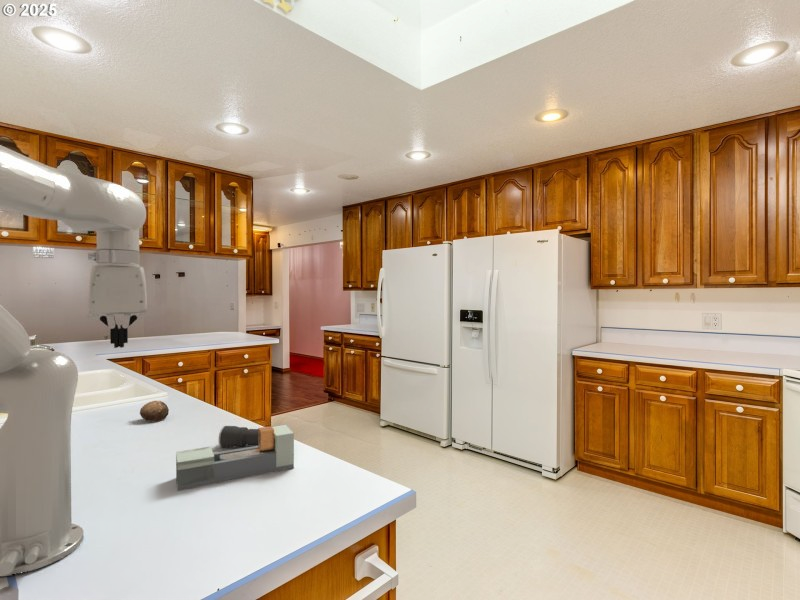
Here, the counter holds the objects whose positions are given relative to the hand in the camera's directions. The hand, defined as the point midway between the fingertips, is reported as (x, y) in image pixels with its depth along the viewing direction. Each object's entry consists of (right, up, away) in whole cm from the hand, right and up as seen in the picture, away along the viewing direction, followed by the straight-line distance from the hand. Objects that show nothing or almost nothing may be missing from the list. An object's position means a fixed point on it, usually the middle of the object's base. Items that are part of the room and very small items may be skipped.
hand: (119, 346), depth 92 cm
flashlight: (+20, -29, +23) cm, 42 cm away
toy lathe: (+22, -29, +6) cm, 37 cm away
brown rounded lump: (-18, -28, +46) cm, 57 cm away
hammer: (+25, -28, +8) cm, 38 cm away
